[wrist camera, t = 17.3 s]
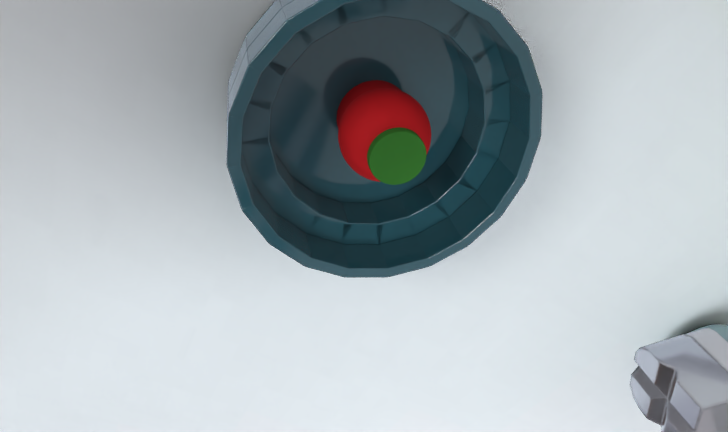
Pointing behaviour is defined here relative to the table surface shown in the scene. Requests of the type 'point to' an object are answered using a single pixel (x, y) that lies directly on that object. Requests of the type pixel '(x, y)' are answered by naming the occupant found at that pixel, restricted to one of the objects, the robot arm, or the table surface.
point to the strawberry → (383, 132)
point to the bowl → (320, 131)
